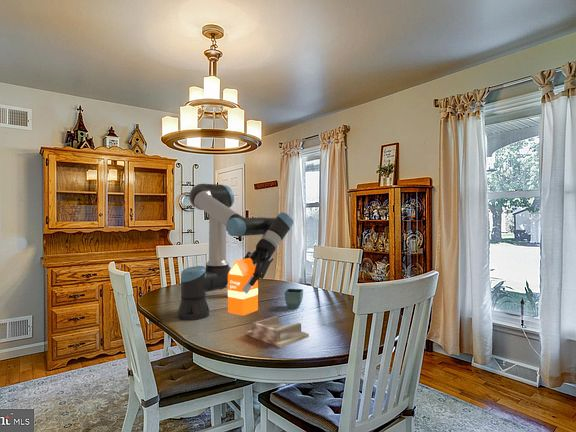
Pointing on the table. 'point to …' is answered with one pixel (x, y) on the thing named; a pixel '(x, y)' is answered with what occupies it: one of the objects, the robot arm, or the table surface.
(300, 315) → the table surface
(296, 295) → the flower pot
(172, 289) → the table surface
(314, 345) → the table surface
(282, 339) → the keeper bracket
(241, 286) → the orange juice
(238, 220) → the robot arm
